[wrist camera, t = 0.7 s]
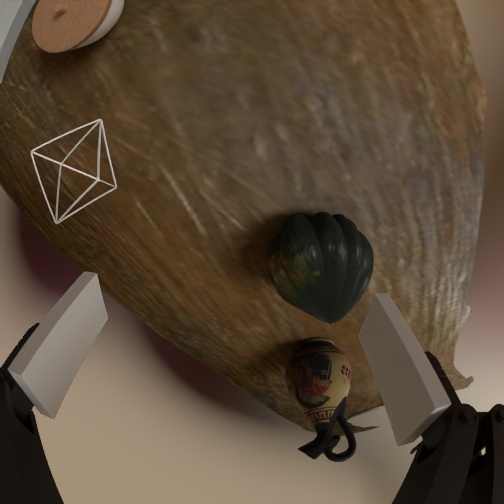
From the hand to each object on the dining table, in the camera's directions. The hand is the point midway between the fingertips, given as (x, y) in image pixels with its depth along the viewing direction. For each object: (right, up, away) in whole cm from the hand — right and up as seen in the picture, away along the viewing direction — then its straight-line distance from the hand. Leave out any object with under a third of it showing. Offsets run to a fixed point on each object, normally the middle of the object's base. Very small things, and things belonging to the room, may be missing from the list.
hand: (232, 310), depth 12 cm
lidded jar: (-18, +32, +7) cm, 38 cm away
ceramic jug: (+17, -21, +52) cm, 59 cm away
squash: (+11, +5, +30) cm, 33 cm away
